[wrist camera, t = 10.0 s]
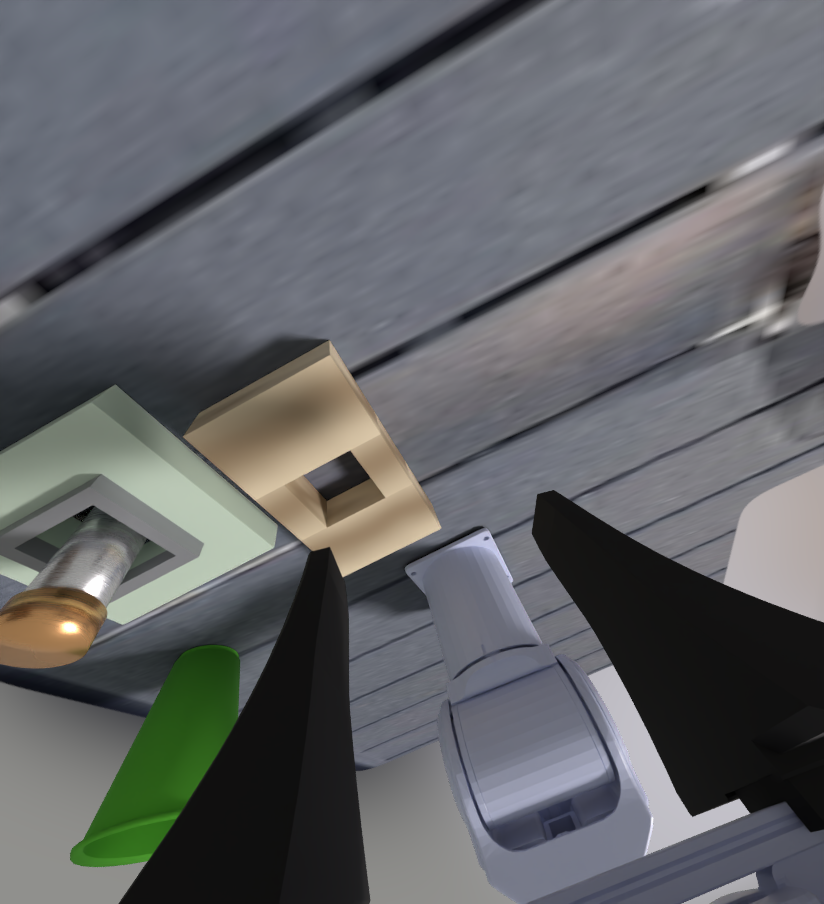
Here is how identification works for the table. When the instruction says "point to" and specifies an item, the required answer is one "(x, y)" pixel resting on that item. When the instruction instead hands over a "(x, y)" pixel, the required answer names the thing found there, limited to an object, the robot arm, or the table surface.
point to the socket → (125, 502)
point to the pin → (68, 595)
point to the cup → (166, 758)
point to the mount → (316, 459)
